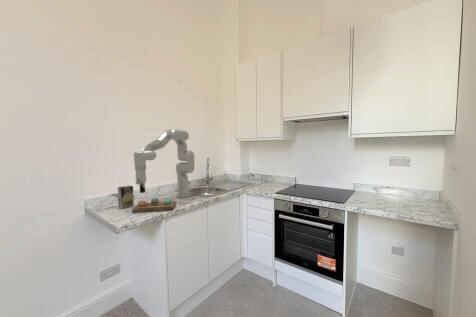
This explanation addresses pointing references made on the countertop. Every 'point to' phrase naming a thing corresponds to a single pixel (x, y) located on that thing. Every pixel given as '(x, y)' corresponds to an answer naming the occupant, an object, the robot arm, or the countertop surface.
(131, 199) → the coffee box
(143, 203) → the button terracotta two
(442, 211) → the countertop surface
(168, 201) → the button teal one
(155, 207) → the button panel
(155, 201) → the button charcoal three
